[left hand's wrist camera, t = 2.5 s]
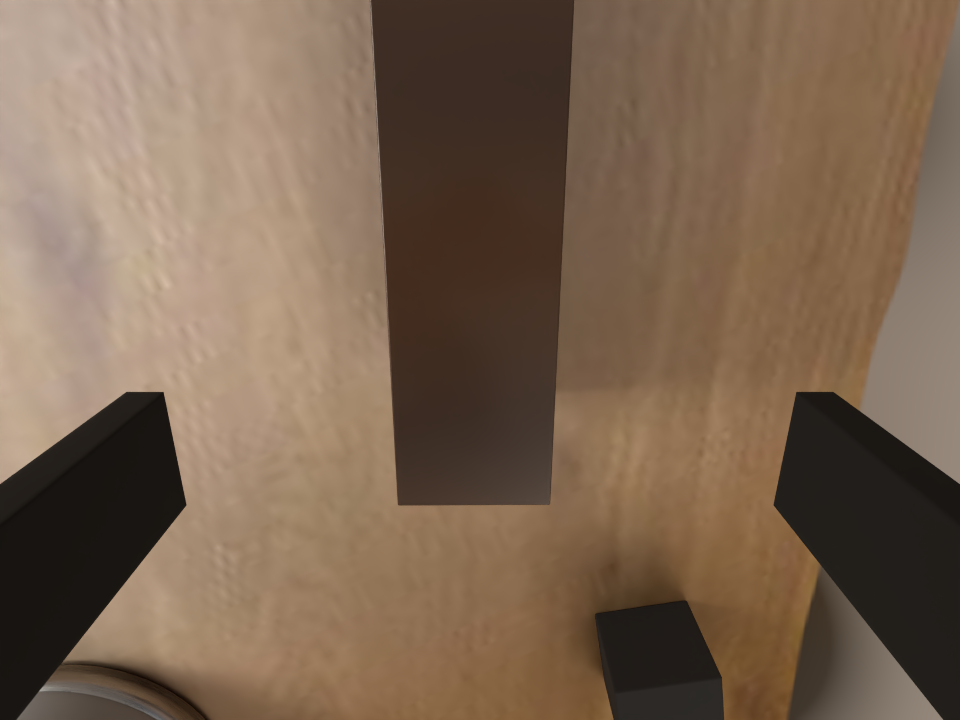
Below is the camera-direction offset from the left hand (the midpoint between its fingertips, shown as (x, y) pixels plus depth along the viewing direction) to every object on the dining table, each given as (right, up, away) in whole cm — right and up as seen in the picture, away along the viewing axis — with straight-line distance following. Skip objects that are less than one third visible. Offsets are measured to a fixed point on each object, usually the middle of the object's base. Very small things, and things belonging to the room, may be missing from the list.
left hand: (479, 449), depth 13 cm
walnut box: (0, +12, +11) cm, 17 cm away
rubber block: (+9, -14, +21) cm, 26 cm away
